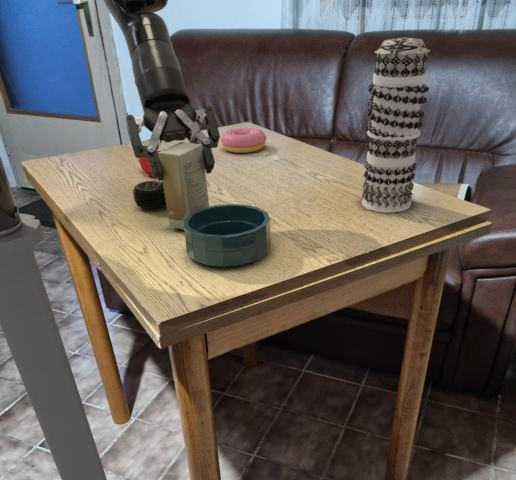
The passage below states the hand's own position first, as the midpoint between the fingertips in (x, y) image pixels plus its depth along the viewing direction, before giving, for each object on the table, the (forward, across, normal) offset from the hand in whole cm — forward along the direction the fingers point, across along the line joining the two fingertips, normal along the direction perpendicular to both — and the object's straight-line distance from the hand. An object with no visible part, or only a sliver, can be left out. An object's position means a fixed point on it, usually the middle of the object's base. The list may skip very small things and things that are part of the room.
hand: (185, 174), depth 80 cm
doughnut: (-24, +24, +37) cm, 50 cm away
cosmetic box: (+5, 0, +7) cm, 9 cm away
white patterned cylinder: (+10, +34, +3) cm, 35 cm away
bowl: (+14, +3, -2) cm, 14 cm away
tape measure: (-3, -3, +16) cm, 17 cm away
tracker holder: (-17, +3, +30) cm, 35 cm away
